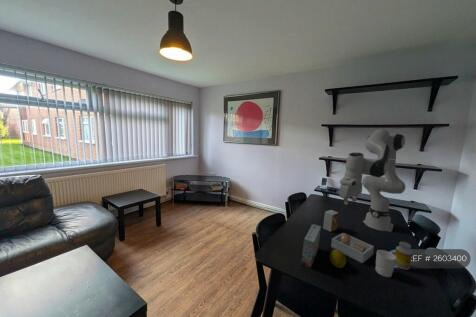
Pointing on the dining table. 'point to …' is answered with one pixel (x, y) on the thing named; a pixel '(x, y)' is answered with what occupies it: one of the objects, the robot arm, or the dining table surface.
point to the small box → (330, 220)
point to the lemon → (337, 258)
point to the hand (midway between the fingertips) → (350, 202)
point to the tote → (350, 250)
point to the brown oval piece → (345, 239)
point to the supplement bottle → (403, 255)
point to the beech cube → (359, 247)
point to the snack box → (311, 246)
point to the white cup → (385, 263)
